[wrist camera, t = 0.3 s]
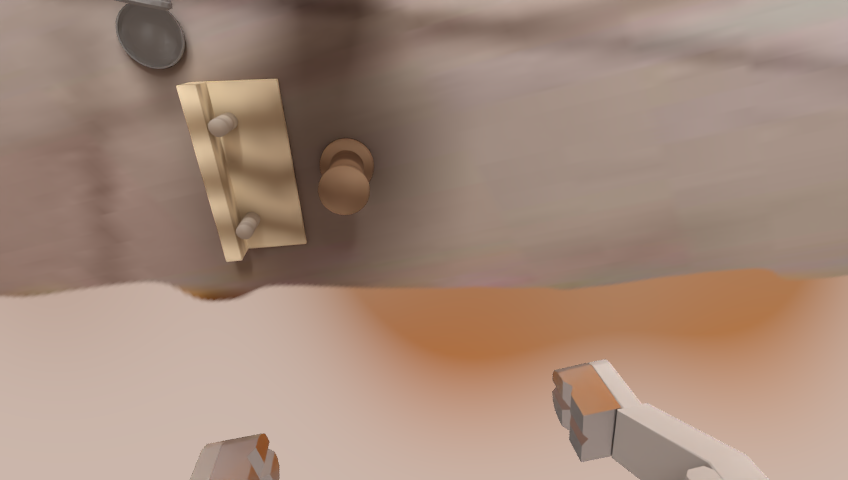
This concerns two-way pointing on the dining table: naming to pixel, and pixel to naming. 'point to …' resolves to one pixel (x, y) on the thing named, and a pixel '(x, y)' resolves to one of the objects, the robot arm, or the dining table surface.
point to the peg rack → (245, 162)
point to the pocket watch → (150, 33)
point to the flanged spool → (345, 176)
